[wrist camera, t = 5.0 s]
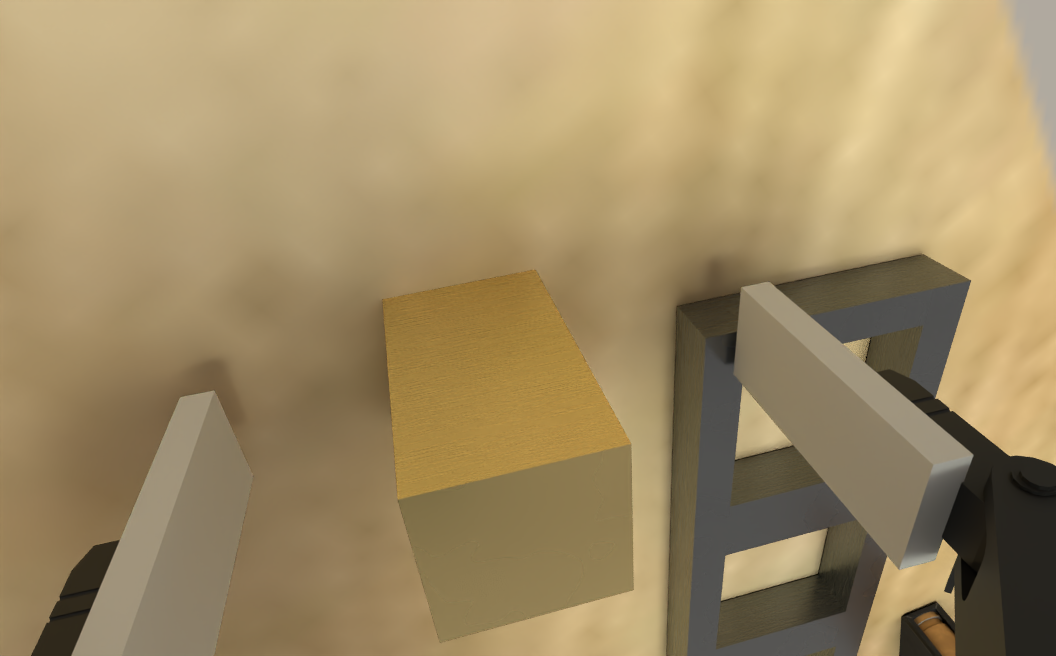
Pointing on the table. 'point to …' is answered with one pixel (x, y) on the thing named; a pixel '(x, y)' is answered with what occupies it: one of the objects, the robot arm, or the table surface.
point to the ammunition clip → (927, 633)
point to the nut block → (504, 456)
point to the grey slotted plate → (786, 466)
